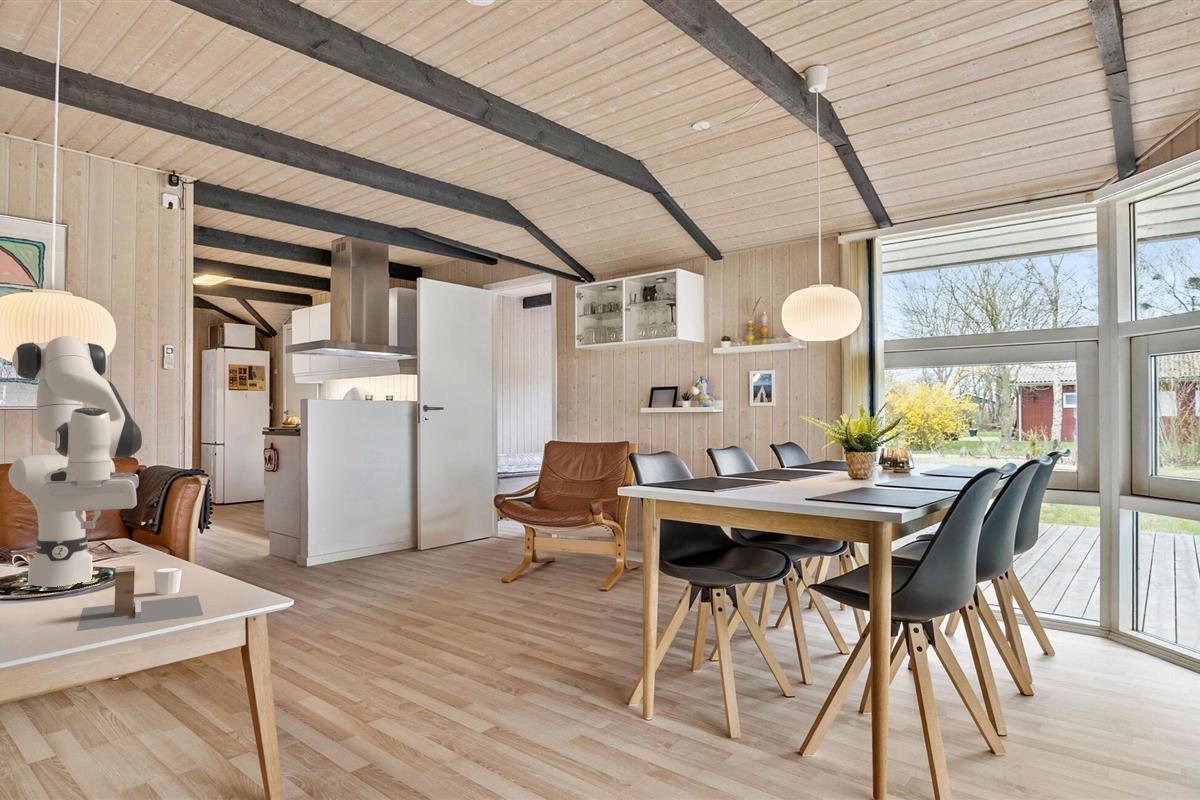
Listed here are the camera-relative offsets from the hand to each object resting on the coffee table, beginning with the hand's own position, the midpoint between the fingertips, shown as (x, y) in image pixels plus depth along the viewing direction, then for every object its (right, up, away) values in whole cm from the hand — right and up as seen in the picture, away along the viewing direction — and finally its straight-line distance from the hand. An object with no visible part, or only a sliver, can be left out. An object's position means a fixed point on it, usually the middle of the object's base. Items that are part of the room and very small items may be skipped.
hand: (87, 528), depth 177 cm
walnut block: (+6, -22, +4) cm, 24 cm away
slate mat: (+10, -23, +6) cm, 26 cm away
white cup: (+4, -24, +26) cm, 35 cm away
